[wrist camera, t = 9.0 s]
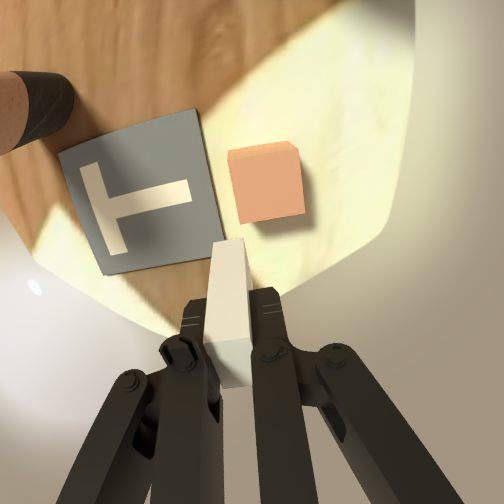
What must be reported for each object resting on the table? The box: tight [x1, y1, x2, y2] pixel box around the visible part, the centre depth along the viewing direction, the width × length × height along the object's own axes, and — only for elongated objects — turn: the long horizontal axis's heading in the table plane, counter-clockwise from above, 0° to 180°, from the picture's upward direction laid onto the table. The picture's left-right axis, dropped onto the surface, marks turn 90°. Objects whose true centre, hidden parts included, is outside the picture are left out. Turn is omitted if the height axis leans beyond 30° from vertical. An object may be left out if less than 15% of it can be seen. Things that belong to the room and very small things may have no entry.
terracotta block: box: [227, 141, 305, 224], centre depth 27 cm, size 6×6×5 cm
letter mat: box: [58, 108, 225, 276], centre depth 30 cm, size 16×16×1 cm
